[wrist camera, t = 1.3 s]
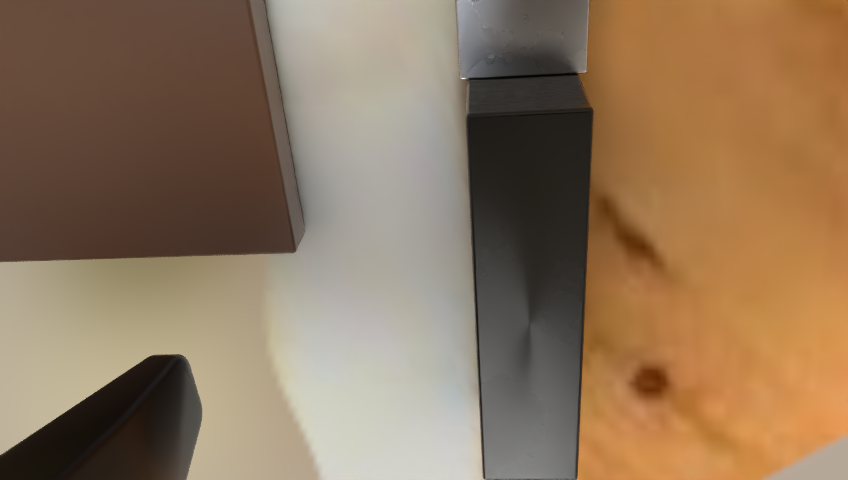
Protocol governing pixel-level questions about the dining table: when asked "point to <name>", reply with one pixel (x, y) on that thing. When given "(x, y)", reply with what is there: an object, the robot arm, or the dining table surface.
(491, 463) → the knife
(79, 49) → the board
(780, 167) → the dining table surface
